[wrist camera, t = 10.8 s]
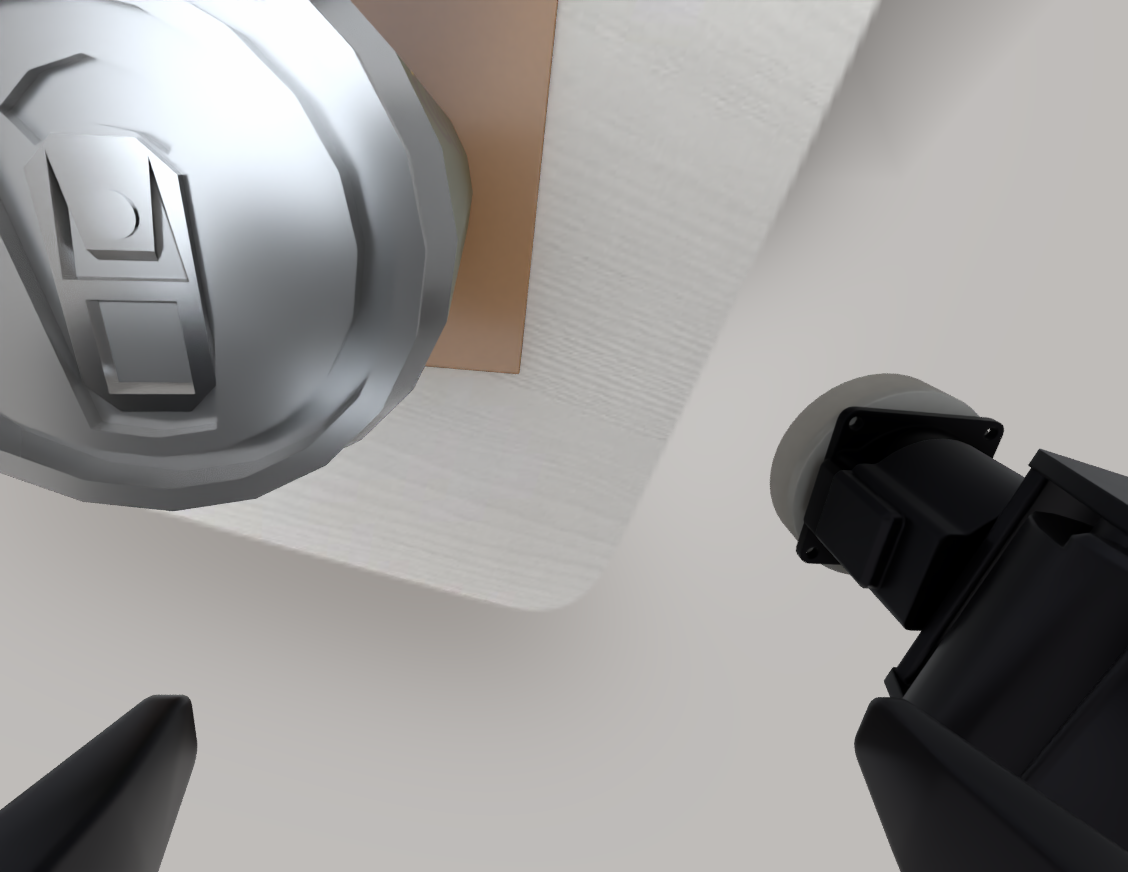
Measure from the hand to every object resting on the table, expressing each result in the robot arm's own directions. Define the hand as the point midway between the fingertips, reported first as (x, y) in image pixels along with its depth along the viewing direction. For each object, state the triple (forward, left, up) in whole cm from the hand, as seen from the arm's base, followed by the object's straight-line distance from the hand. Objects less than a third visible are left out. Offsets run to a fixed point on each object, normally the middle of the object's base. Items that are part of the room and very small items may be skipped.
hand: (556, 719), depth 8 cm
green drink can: (+4, -6, -12) cm, 14 cm away
